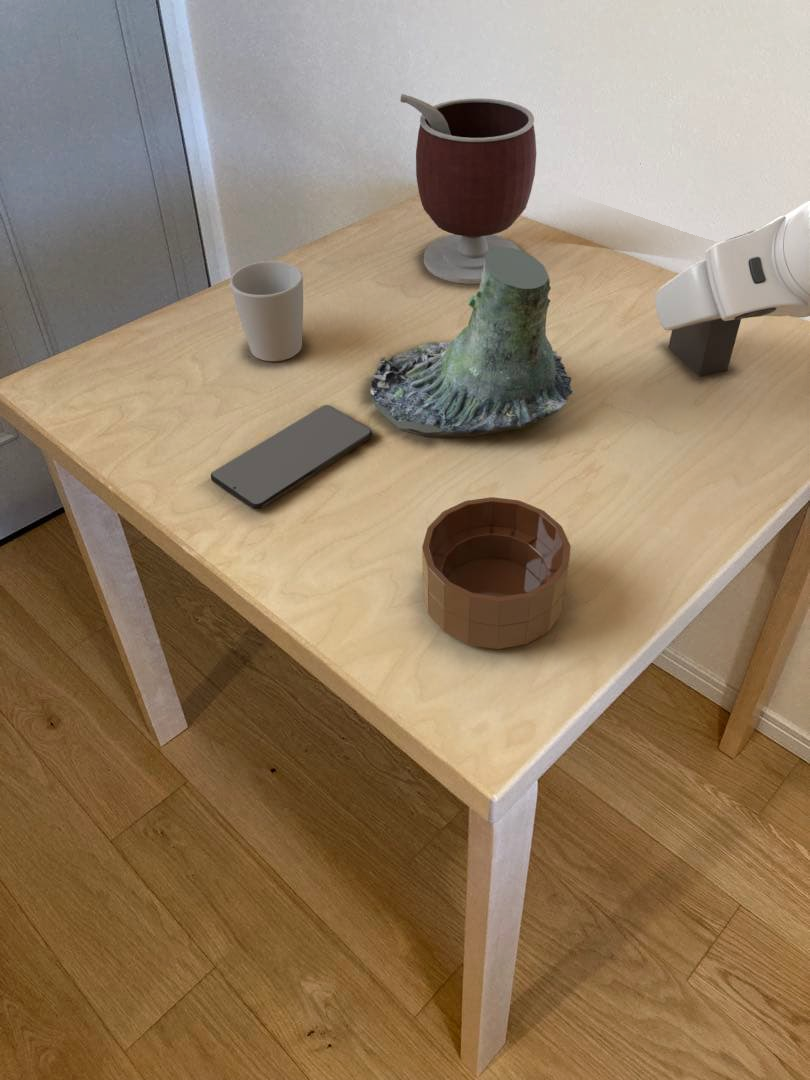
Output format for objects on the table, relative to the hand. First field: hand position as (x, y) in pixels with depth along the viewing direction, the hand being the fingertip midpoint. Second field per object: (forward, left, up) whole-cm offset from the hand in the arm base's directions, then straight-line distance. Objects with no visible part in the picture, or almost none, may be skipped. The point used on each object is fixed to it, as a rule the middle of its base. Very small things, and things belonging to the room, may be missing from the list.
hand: (717, 308), depth 91 cm
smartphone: (+45, +7, -6) cm, 46 cm away
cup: (+45, -14, -6) cm, 47 cm away
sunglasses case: (+1, -1, -6) cm, 6 cm away
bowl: (+31, +28, -6) cm, 42 cm away
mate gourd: (+20, -28, -6) cm, 35 cm away
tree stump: (+26, 0, -6) cm, 26 cm away
